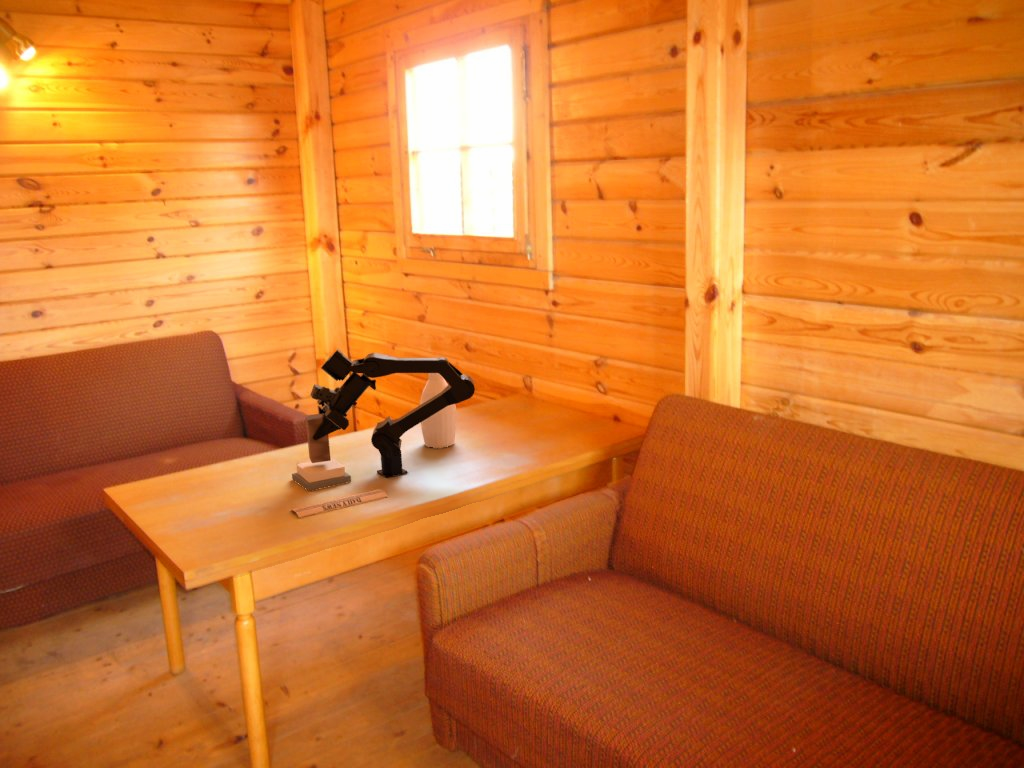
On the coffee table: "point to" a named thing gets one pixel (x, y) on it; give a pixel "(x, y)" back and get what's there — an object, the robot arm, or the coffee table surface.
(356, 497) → the newspaper
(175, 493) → the coffee table surface
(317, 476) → the tower top slab
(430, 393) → the bottle
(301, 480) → the tower base slab
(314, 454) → the walnut block
